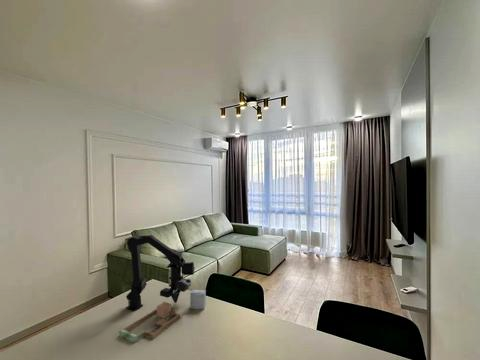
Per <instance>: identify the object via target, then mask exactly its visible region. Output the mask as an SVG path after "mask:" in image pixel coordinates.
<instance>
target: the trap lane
mask: <svg viewBox="0 0 480 360" xmlns="http://www.w3.org/2000/svg"><path fill="white" fill-rule="evenodd" d="M156 315H157V308H155V309H154V310H152V311H150V312H149V313H147V314H146V315H144V316H142V317H141V318H139V319H138V320H136V321H134V322H132V323H131V324H129V325H128V326H126V327H125V328H120V329H119V330H118V337H121V338H123V339H125V340H127V341H130V342H131V343H134V344H136V343H137V342H138V341H139V340H141V339H142V338H144V337H146V338H149V339H151V340H154V339H155V338H157V337H158V336H159V335H161V334H162V333H163V332H165V331H166V330H167V329H168V328H170V327H171V326H173V324H175V323H176V322H177V321H178V320H180V319H181V318H182V317H181V313H176V309H172V310H171V312H170V314H169V317H168V318H167V319H164V318H160V319H157V321H155V322H154V328H153V329H151V330H150V331H149V330H147V329H144V330H142V331H141V332H139V333H138V334H135V333H133V332H130V331H132V330H133V329H135V328H136V327H139V326H140V325H141V324H143V323H145V322H146V321H147V320H149V319H151V318H152V317H154V316H156Z"/></svg>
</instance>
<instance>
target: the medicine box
mask: <svg viewBox="0 0 480 360" xmlns="http://www.w3.org/2000/svg"><path fill="white" fill-rule="evenodd" d="M206 293H207V290H205V289H204V290H202V289H192V290H191V291H190V298H189V300H190V303H189V305H190V309H197V310H205V308H206V306H207V303H206V301H207V300H206V299H207V297H206V295H207V294H206Z"/></svg>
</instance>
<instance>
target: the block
mask: <svg viewBox="0 0 480 360" xmlns="http://www.w3.org/2000/svg"><path fill="white" fill-rule="evenodd" d="M156 309H157V314H156V316H158V317H161V318H162V319H164V318H166V317H168V316H170V312H171V311H172V303H169V302H166V301H163V302H162V303H160V304H157V306H156Z"/></svg>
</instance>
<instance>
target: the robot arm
mask: <svg viewBox="0 0 480 360" xmlns="http://www.w3.org/2000/svg"><path fill="white" fill-rule="evenodd" d="M126 244H127V249H128V250H129V253H130V255H131V257H130V258H131V270H132V281H131V285H130V286H131V287H130V291H129V292H128V293H127V294H126V300H127V301H128V302H127V306H126V307H125V309H126V310H129V311H132V312H134V311H137V310H139V309H140V308H141V307H143V306H144V304H142V297H141V296H142V295H141V294H142V293H143V291H144V290H145V288H146V286H147V285H148V284H147V278H146V277H144V276H143V273H142V272H143V271H142V261H141V247H142V245H145V244H149V245H150V246H152V247H153V248H154V249H155V250H157V251H158V252H160V253H161V254H163V255H164V256H165V258H166V260H168V261H169V262H170V263H169V264H168V265H167V266H166V268H168V269H170V276H168V279H169V280H170V283H169V284H168V287H169V288H168V287H164V288H162V289H161V290H160V291H159V296H160V297H163V298H167V299H168V298H170V297H171V299H172V301H173V303H174V304H176V303H177V302H178V299H179V296H180V293H181V292H186V291H188V290H189V287H190V286H191V285H192V282H191V278H184V277H183V276H194V274H195V271H196V270H195V262H193V261H190V262H186V260H185V259H184V258H183V255H182V252H181V251H179V250H176V249H173V248H170V247H169V246H168V245H166V244H165V243H164V242H162V241H160V240H159V239H158V238H157V237H155V235H153V234H149V235H146V234H145V235H137V234H136V235H134V236H131V237H130V238H128V239H127V241H126Z"/></svg>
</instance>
